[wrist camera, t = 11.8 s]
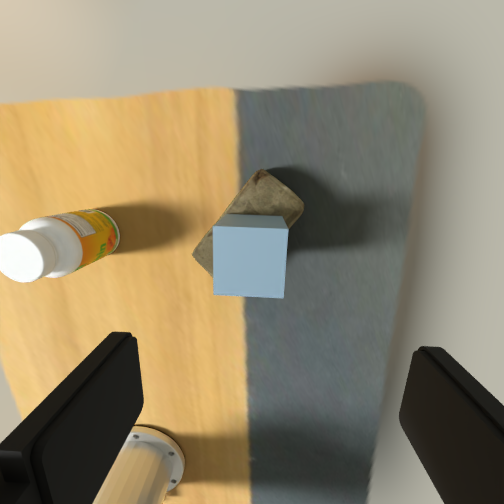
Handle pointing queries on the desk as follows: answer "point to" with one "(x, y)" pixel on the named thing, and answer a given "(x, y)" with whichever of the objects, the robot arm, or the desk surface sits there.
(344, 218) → the desk surface
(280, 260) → the slate cube
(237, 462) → the desk surface
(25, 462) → the robot arm
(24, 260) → the supplement bottle
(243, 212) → the stone block
